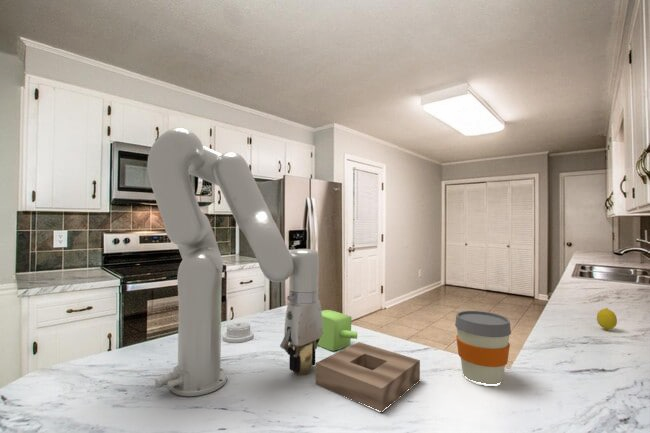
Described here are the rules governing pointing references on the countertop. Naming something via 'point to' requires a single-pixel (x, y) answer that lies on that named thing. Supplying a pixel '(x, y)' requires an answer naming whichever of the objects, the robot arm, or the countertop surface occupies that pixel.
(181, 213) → the robot arm
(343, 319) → the gearbox
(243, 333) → the mechanical component
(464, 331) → the reusable coffee cup
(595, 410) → the countertop surface
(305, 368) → the bushing
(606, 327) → the lemon
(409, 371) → the block
